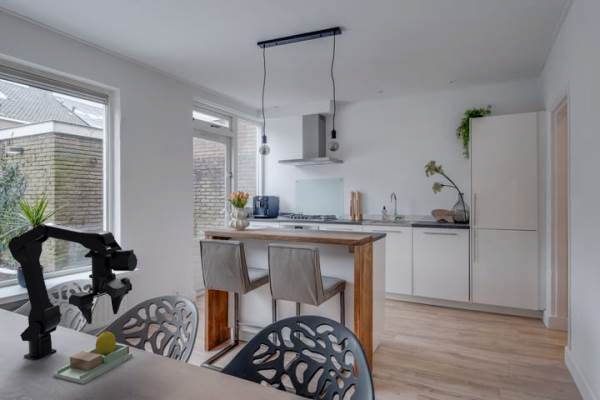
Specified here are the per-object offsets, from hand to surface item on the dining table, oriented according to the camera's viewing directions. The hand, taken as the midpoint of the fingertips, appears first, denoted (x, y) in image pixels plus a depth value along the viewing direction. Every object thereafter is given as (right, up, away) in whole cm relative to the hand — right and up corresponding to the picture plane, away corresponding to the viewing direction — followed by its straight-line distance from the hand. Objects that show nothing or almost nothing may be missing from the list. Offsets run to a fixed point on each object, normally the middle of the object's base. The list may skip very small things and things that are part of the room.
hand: (103, 318), depth 114 cm
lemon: (+3, -11, -3) cm, 12 cm away
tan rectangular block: (0, -11, -10) cm, 14 cm away
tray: (+1, -12, -7) cm, 14 cm away
